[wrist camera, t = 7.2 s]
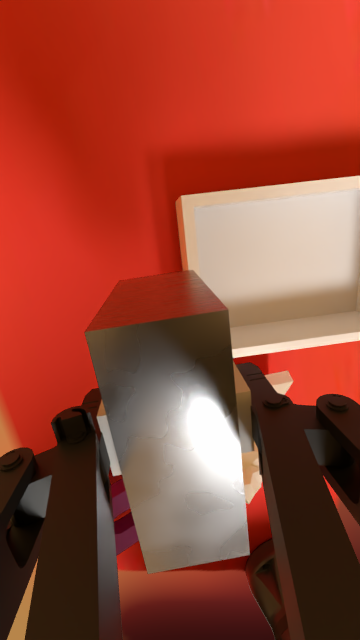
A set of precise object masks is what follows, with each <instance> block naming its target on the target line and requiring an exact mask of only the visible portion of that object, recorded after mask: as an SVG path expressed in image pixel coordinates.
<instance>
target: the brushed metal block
mask: <svg viewBox="0 0 360 640" xmlns="http://www.w3.org/2000/svg"><path fill="white" fill-rule="evenodd" d="M85 336H86V340H87V343H88V347H89V351H90V355H91V359H92V363H93V366H94V370H95V374H96V378H97V382H98V386H99V389H100V393H101V397H102V401H103V405H104V409H105V412H106V416H107V420H108V424H109V428H110V432H111V435H112V439H113V443H114V447H115V451H116V455H117V458H118V462H119V466H120V470H121V474H122V477H123V481H124V485H125V489H126V493H127V497H128V500H129V504H130V508H131V512H132V516H133V520H134V523H135V527H136V531H137V535H138V539H139V543H140V546H141V550H142V554H143V558H144V562H145V566H146V569H147V573H148V574H151V573H156V572H162V571H167V570H172V569H178V568H183V567H188V566H194V565H199V564H204V563H209V562H215V561H220V560H225V559H231V558H236V557H241V556H247V555H250V549H249V537H248V526H247V515H246V503H245V492H244V481H243V469H242V458H241V447H240V435H239V424H238V412H237V401H236V390H235V378H234V367H233V356H232V344H231V333H230V322H229V310H228V308H227V307H226V306H225V305H224V304H223V303H222V302H221V301H220V299H219V298H218V297H217V296H216V295H215V294H214V293H213V292H212V291H211V289H210V288H209V287H208V286H207V285H206V284H205V283H204V282H203V280H202V279H201V278H200V277H199V276H198V275H197V274H196V273H195V272H194V270H186V271H180V272H173V273H166V274H160V275H153V276H147V277H140V278H133V279H127V280H120V281H119V282H118V283H117V285H116V286H115V288H114V289H113V291H112V292H111V294H110V295H109V297H108V298H107V300H106V301H105V303H104V304H103V306H102V307H101V308H100V310H99V311H98V313H97V314H96V316H95V317H94V319H93V320H92V322H91V323H90V325H89V326H88V328H87V329H86V331H85Z"/></svg>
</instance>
